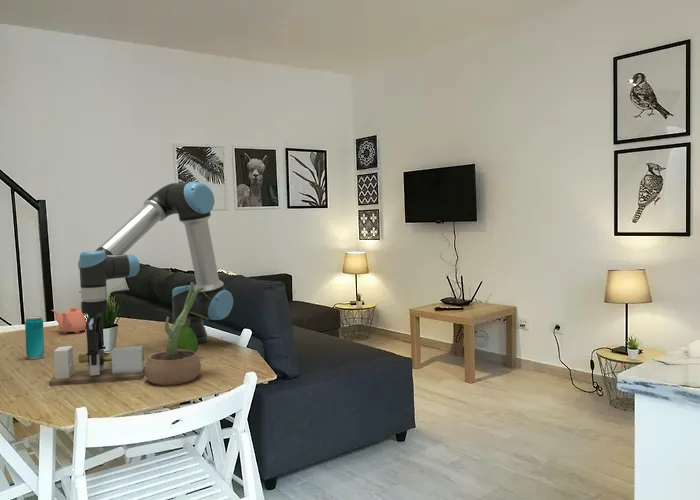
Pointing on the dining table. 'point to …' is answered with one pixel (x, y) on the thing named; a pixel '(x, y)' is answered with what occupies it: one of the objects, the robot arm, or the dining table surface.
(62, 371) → the socket
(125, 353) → the sleeve
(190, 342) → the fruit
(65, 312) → the teapot
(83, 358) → the tube
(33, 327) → the beverage can
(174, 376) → the potted plant
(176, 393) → the dining table surface
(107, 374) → the board
